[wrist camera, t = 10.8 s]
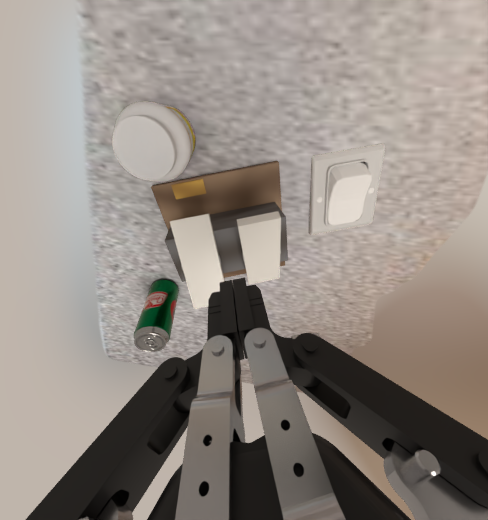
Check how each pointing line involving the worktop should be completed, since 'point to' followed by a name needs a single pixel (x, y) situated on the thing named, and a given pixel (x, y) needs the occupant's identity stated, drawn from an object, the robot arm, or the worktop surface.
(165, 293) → the soda can
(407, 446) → the robot arm
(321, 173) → the light switch
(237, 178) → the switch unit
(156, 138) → the supplement bottle
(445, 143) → the worktop surface
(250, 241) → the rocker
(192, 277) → the block
